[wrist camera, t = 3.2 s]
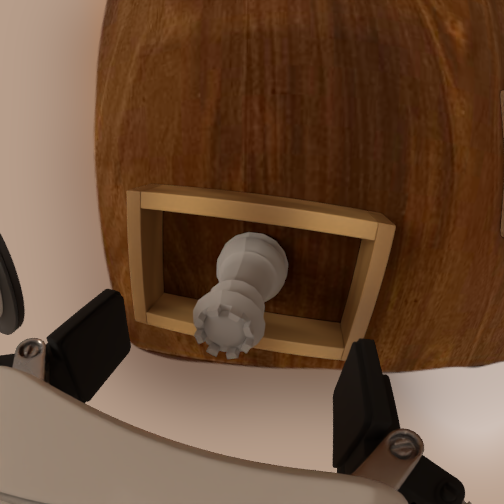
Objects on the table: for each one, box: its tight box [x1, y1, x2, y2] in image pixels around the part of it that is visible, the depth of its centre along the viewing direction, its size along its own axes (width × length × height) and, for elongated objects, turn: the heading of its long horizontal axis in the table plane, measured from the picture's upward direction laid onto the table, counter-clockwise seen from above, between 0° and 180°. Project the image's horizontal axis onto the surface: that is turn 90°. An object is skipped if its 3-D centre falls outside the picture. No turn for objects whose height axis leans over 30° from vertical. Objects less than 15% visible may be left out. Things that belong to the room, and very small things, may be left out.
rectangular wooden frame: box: [127, 184, 396, 361], centre depth 18 cm, size 15×9×3 cm, turn 85°
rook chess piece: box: [193, 232, 288, 359], centre depth 15 cm, size 4×4×8 cm
